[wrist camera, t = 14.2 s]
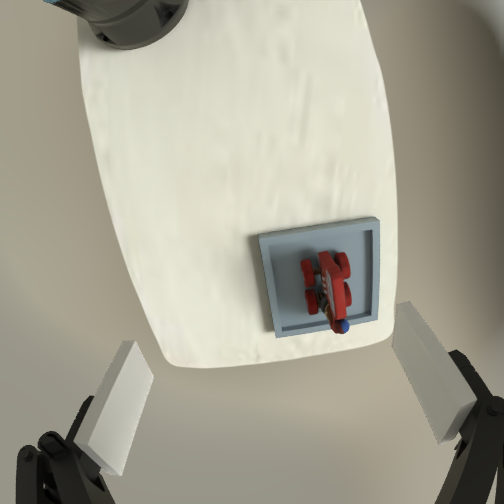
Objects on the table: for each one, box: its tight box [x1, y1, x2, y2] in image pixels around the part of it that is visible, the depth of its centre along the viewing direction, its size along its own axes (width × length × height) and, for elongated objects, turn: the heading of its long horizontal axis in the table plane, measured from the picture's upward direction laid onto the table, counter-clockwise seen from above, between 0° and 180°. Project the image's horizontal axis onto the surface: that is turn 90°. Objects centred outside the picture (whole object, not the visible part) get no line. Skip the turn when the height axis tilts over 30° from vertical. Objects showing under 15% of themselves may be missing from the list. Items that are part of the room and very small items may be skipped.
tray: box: [259, 217, 380, 338], centre depth 46 cm, size 18×18×2 cm
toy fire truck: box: [300, 251, 352, 334], centre depth 41 cm, size 7×12×10 cm, turn 12°
